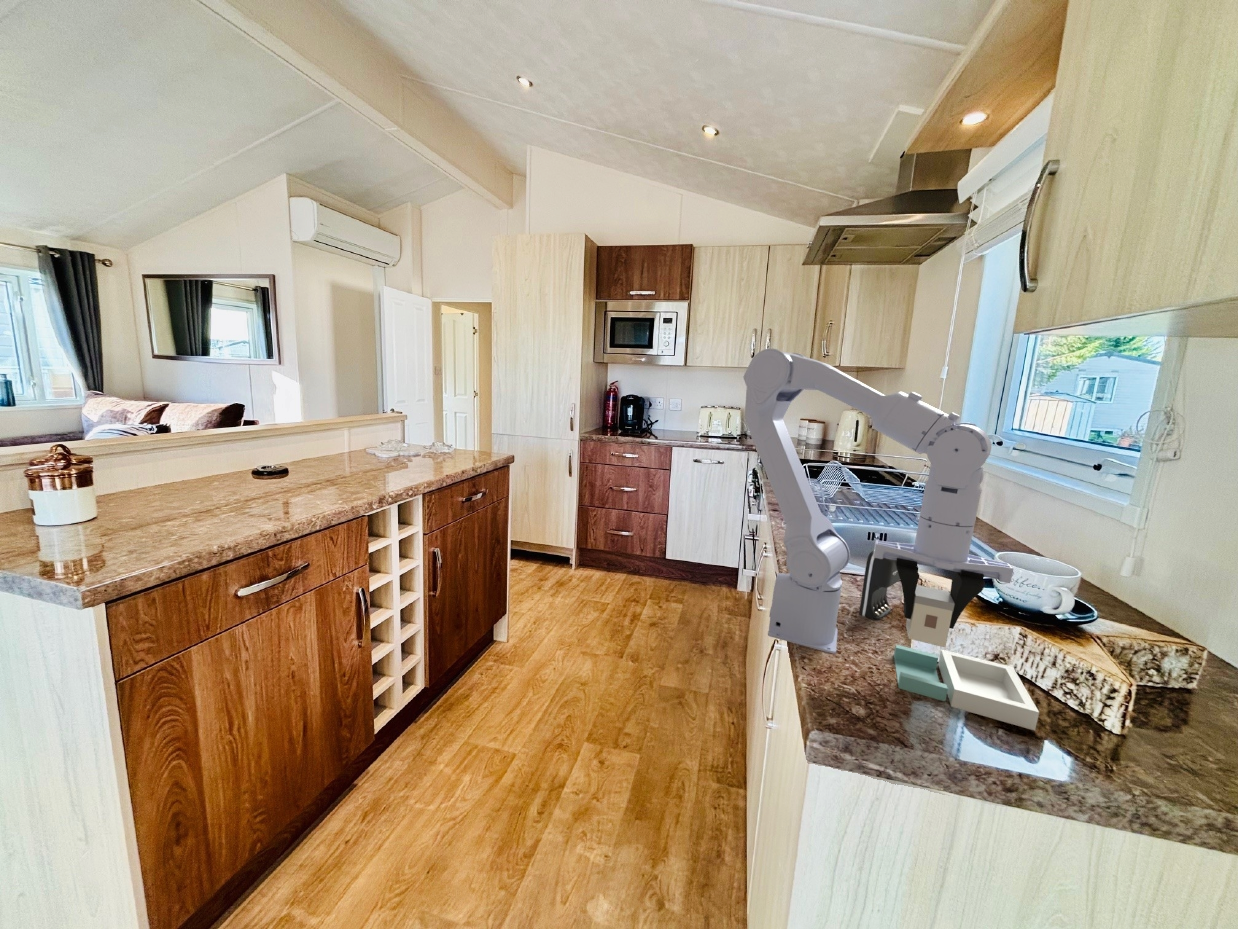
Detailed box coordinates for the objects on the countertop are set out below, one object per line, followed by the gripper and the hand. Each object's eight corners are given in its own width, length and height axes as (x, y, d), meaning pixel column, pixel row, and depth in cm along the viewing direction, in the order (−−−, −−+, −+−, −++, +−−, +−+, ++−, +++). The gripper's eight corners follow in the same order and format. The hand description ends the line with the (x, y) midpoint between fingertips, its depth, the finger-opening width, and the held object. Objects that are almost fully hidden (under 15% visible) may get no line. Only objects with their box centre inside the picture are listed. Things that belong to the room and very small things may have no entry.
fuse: (908, 638, 61) (915, 595, 60) (905, 624, 65) (912, 583, 64) (946, 648, 59) (954, 603, 58) (940, 633, 63) (948, 591, 62)
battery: (881, 625, 77) (892, 559, 75) (857, 616, 80) (867, 551, 78) (897, 613, 82) (908, 550, 80) (874, 605, 85) (883, 544, 83)
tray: (950, 708, 57) (954, 689, 57) (937, 666, 66) (941, 649, 66) (1034, 732, 54) (1039, 712, 54) (1009, 684, 63) (1012, 667, 62)
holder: (944, 703, 58) (947, 688, 58) (898, 690, 60) (900, 675, 60) (934, 667, 66) (936, 654, 66) (893, 657, 68) (895, 644, 68)
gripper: (882, 517, 59) (866, 618, 61) (1030, 540, 53) (1005, 651, 55) (879, 505, 65) (865, 597, 68) (1011, 524, 59) (989, 625, 61)
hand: (927, 620), depth 62 cm, fingers closed on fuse, 4 cm apart
